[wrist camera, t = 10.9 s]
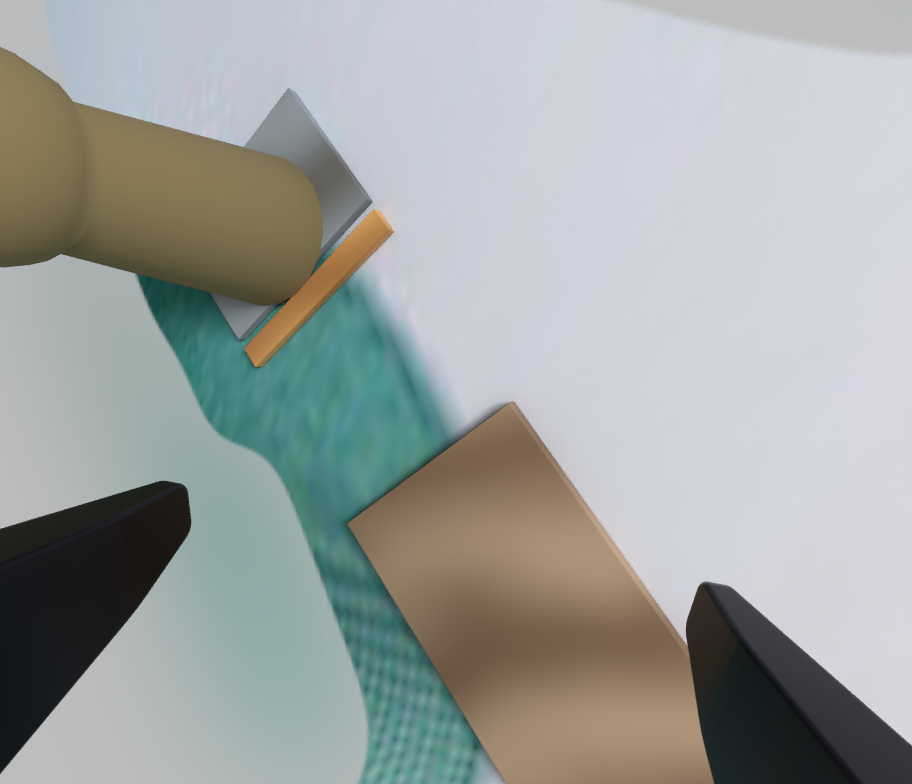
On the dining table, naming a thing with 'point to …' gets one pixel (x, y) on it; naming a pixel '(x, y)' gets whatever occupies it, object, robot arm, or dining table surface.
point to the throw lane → (502, 558)
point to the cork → (147, 197)
